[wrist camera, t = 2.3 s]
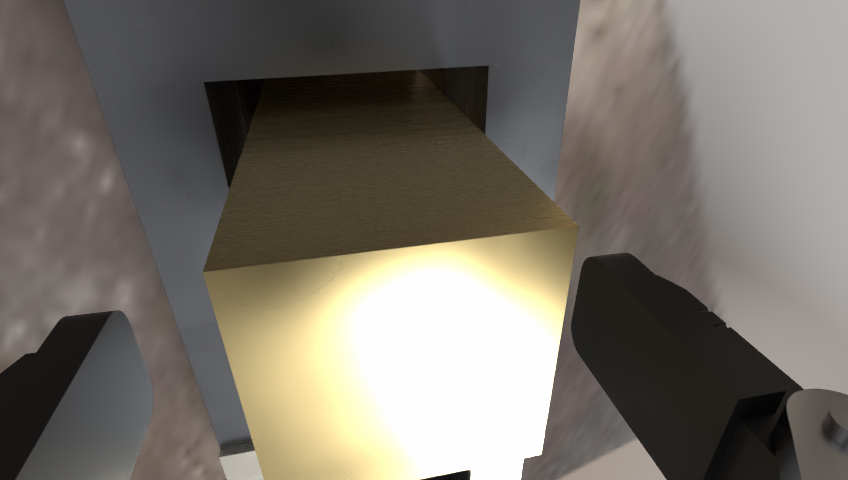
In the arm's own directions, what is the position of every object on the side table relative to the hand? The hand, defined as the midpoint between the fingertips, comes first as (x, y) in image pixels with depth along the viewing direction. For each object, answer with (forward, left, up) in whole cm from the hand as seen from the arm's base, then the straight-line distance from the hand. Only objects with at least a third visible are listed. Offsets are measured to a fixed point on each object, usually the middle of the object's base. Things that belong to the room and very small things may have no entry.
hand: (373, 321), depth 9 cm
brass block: (-1, 0, -8) cm, 8 cm away
